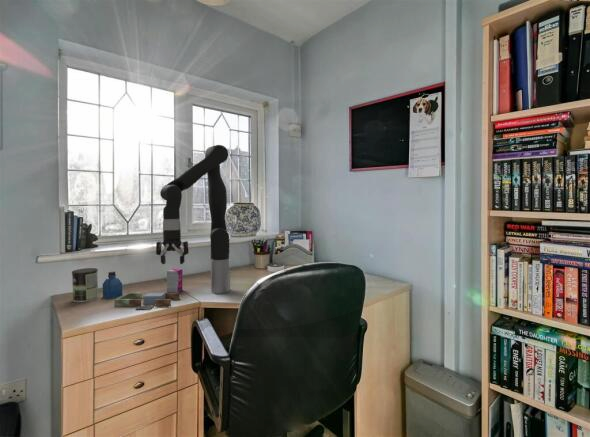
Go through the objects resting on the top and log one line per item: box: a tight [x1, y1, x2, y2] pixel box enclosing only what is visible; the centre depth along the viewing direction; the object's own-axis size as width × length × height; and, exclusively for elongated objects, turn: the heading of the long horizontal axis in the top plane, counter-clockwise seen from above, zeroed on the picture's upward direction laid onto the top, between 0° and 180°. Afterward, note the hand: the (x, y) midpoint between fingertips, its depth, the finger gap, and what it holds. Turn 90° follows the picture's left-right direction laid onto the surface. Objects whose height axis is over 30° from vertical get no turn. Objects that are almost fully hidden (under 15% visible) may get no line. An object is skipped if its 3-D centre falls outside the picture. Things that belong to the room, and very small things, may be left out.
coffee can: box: [71, 267, 99, 303], centre depth 148 cm, size 10×10×14 cm
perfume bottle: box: [102, 271, 123, 300], centre depth 153 cm, size 6×6×12 cm
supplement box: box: [166, 268, 183, 293], centre depth 161 cm, size 6×6×12 cm
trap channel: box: [114, 292, 181, 311], centre depth 143 cm, size 25×20×3 cm
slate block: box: [142, 292, 166, 306], centre depth 143 cm, size 8×5×4 cm, turn 93°
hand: (172, 263), depth 142 cm, fingers open, 8 cm apart
